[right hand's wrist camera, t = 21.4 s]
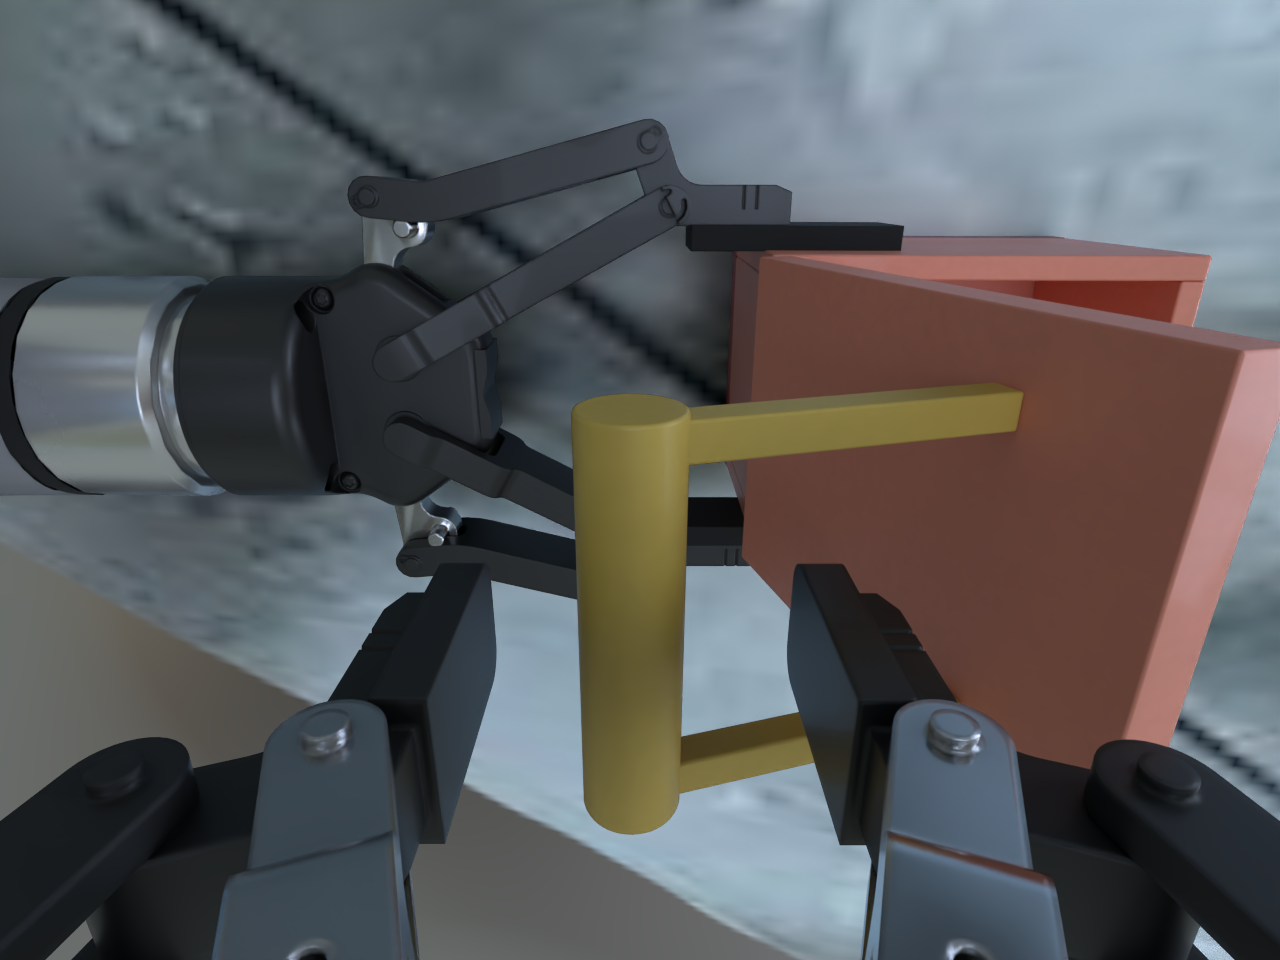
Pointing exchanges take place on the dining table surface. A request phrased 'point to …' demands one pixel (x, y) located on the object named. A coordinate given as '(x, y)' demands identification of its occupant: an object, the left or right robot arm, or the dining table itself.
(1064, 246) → the chest
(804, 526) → the block with yellow handle
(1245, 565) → the dining table surface
